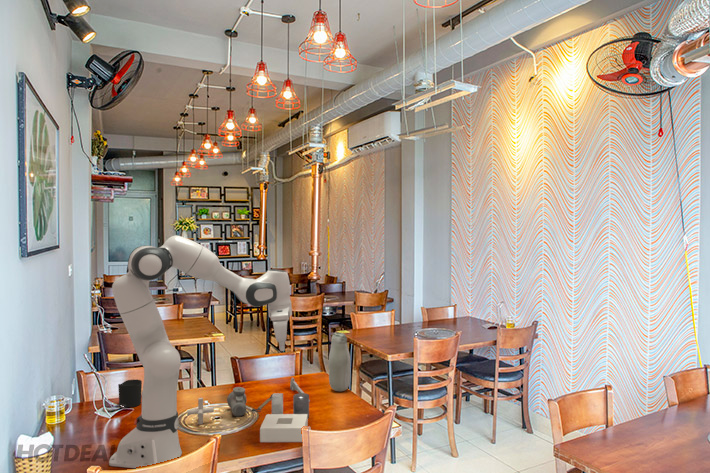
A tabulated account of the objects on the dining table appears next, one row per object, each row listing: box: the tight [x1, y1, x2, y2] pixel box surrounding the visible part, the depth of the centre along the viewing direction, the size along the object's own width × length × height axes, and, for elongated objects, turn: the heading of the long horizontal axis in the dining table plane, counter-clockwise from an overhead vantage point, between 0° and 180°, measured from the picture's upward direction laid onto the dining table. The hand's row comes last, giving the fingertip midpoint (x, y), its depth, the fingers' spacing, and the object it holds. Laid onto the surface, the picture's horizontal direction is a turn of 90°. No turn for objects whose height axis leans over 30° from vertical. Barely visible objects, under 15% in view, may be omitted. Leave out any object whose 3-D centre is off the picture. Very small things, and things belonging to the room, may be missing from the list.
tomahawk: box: [251, 393, 273, 413], centre depth 216 cm, size 22×7×1 cm, turn 166°
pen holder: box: [118, 379, 143, 408], centre depth 215 cm, size 9×9×10 cm
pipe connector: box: [186, 397, 215, 425], centre depth 193 cm, size 10×10×10 cm
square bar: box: [271, 392, 284, 414], centre depth 197 cm, size 4×4×10 cm
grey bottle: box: [328, 332, 351, 392], centre depth 234 cm, size 10×10×28 cm
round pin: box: [292, 392, 310, 419], centre depth 199 cm, size 6×6×9 cm
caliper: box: [289, 377, 311, 403], centre depth 227 cm, size 21×1×6 cm, turn 30°
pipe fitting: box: [226, 386, 247, 418], centre depth 205 cm, size 12×8×10 cm
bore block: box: [259, 413, 309, 443], centre depth 182 cm, size 16×14×5 cm
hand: (282, 347), depth 185 cm, fingers open, 8 cm apart
